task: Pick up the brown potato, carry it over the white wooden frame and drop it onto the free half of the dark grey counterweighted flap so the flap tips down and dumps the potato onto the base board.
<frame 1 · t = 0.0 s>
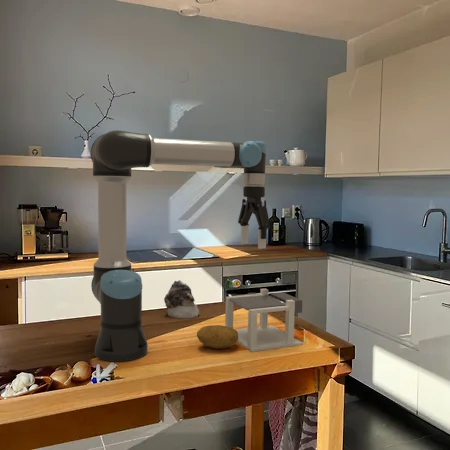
hand: (252, 246, 169), 28 cm above the table, fingers open, 13 cm apart
stone: (181, 315, 181), on the table
potato: (217, 348, 145), on the table
flap: (265, 304, 154), point 11 cm above the table, hinge at 0.0°
frame: (262, 338, 155), on the table
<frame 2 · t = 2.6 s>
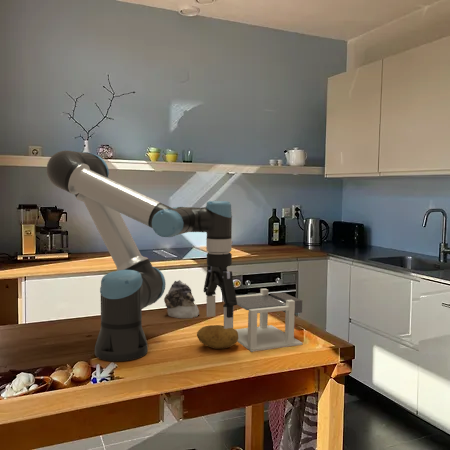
hand: (219, 321, 145), 8 cm above the table, fingers open, 13 cm apart
nothing on the table moved.
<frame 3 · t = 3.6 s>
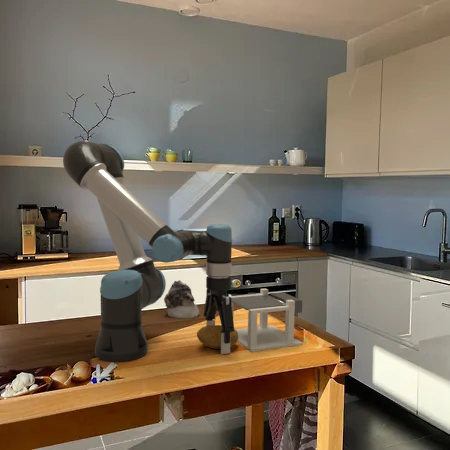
hand: (217, 346, 145), 0 cm above the table, fingers open, 11 cm apart
nothing on the table moved.
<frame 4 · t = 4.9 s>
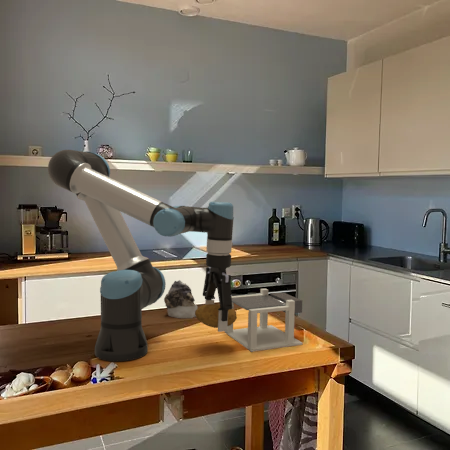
hand: (215, 325, 145), 7 cm above the table, fingers closed on potato, 10 cm apart
potato: (215, 327, 145), point 6 cm above the table, touching gripper
everything else where it was.
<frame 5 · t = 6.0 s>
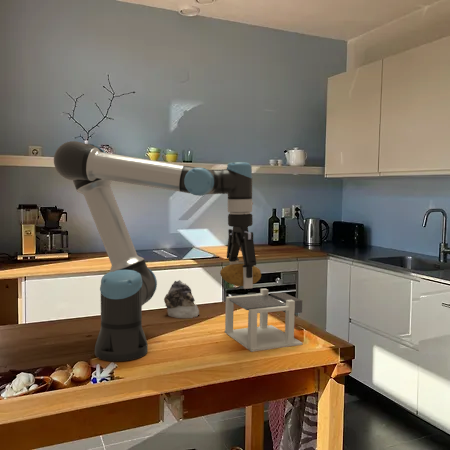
hand: (240, 284, 148), 19 cm above the table, fingers closed on potato, 10 cm apart
potato: (240, 286, 148), point 18 cm above the table, touching gripper
everything else where it was.
when the fingers open (15 cm above the table, at t = 7.2 s): potato drops 7 cm, resting on flap.
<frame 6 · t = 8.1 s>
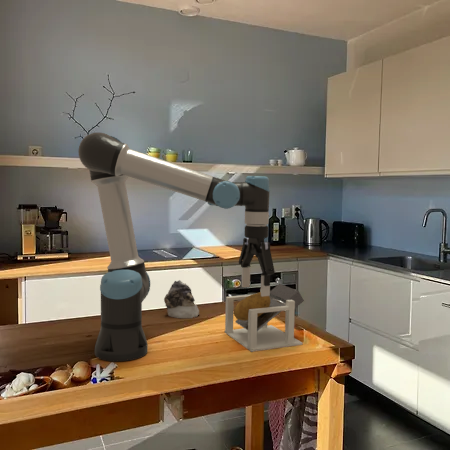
hand: (255, 291, 152), 16 cm above the table, fingers open, 13 cm apart
potato: (257, 315, 154), point 8 cm above the table, touching flap
flap: (268, 310, 155), point 9 cm above the table, hinge at -33.7°, touching potato
everything else where it was.
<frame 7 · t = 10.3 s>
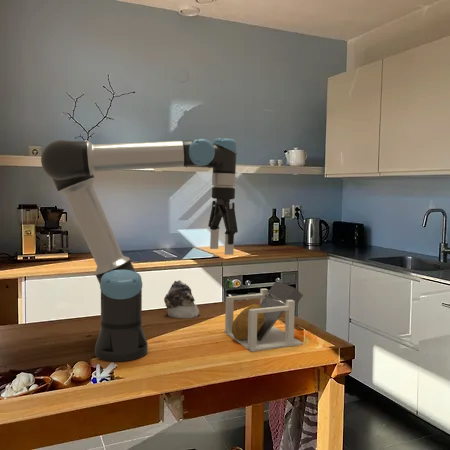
hand: (221, 251, 157), 28 cm above the table, fingers open, 13 cm apart
potato: (256, 326, 153), point 4 cm above the table, touching flap, frame
flap: (271, 312, 156), point 8 cm above the table, hinge at -49.6°, touching potato
everything else where it was.
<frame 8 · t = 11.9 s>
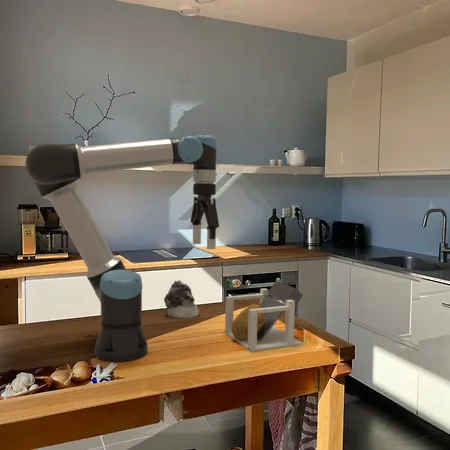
hand: (203, 246, 160), 29 cm above the table, fingers open, 13 cm apart
nothing on the table moved.
at the end: potato point 4.2 cm above the table; potato moved 15.3 cm from its start; the gripper is holding nothing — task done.
